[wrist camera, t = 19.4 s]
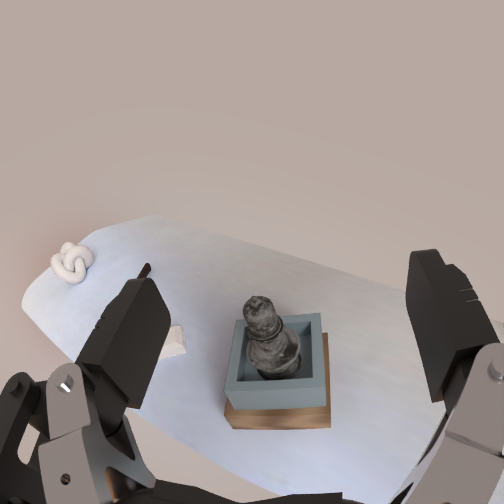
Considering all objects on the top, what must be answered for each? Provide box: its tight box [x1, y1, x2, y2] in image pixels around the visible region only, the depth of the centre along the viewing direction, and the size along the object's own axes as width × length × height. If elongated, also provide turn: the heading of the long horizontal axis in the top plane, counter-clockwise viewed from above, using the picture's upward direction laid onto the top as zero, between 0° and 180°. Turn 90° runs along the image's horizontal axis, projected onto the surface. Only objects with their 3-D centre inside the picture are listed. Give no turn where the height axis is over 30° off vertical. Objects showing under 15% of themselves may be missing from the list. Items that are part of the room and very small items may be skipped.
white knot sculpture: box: [51, 242, 93, 284], centre depth 72 cm, size 11×12×9 cm
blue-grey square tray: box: [224, 313, 326, 410], centre depth 35 cm, size 10×10×4 cm
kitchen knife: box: [137, 263, 151, 279], centre depth 62 cm, size 18×1×2 cm, turn 172°
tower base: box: [224, 333, 331, 430], centre depth 37 cm, size 12×12×4 cm
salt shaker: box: [243, 296, 302, 381], centre depth 31 cm, size 6×6×12 cm
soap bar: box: [158, 325, 187, 360], centre depth 48 cm, size 5×9×3 cm, turn 106°
